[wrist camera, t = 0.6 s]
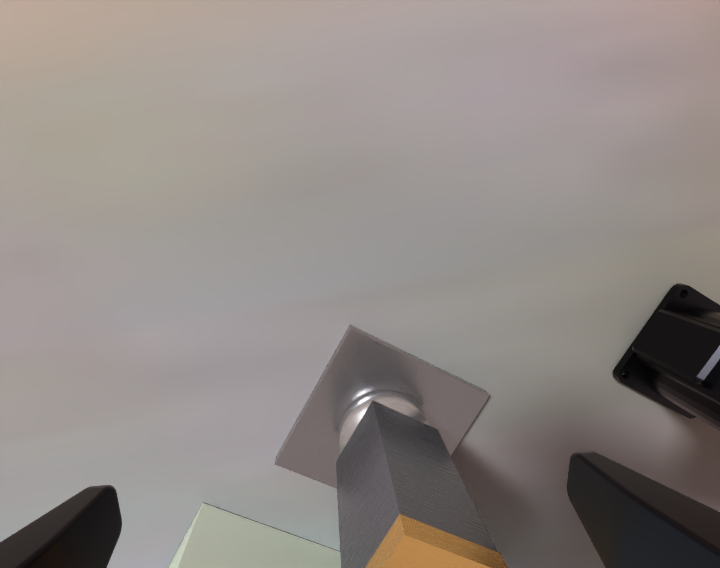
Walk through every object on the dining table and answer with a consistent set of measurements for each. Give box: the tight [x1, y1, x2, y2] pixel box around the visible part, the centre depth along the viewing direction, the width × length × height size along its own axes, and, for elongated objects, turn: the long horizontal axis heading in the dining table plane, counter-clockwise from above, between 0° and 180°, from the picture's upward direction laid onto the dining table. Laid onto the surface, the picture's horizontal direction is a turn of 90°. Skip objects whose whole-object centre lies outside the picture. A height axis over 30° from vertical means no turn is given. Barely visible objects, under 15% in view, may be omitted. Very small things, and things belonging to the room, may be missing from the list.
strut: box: [336, 400, 507, 568], centre depth 17 cm, size 4×4×8 cm
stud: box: [275, 325, 489, 488], centre depth 21 cm, size 9×9×2 cm
